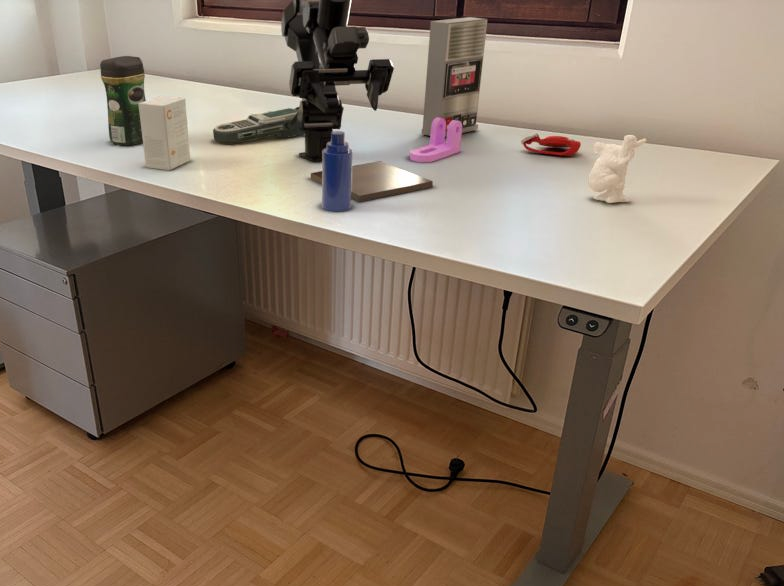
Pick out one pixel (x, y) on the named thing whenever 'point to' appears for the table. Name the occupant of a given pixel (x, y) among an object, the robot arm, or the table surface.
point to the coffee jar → (124, 98)
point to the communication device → (259, 127)
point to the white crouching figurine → (612, 169)
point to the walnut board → (380, 181)
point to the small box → (164, 132)
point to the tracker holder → (553, 144)
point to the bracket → (440, 142)
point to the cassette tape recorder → (454, 72)
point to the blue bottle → (337, 174)
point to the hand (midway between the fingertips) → (351, 109)
